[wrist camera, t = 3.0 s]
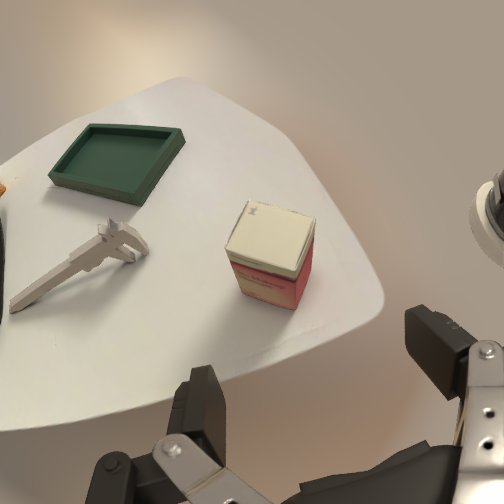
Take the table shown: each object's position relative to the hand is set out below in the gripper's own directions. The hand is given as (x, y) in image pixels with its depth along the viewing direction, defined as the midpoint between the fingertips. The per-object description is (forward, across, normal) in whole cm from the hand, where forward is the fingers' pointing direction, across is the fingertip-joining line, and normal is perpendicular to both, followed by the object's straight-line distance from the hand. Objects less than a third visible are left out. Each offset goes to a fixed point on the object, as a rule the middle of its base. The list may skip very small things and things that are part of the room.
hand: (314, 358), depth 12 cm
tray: (+31, +16, -13) cm, 37 cm away
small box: (+16, 0, +3) cm, 16 cm away
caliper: (+19, +21, -1) cm, 29 cm away
